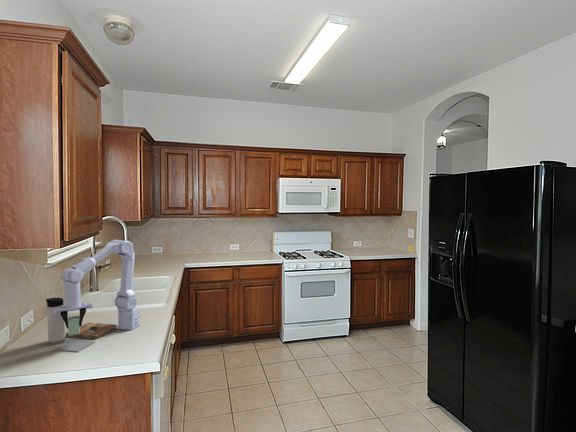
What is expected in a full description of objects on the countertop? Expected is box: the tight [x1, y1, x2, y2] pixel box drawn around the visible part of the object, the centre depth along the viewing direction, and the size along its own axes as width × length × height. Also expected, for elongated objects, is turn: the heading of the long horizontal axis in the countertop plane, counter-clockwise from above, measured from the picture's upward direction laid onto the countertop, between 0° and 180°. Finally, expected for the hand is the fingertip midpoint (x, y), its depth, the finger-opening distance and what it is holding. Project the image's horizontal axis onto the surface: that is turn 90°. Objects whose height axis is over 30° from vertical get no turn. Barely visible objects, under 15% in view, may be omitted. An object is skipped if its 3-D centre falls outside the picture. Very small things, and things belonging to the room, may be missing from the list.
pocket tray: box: [65, 322, 118, 340], centre depth 165 cm, size 16×14×2 cm
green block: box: [67, 314, 80, 336], centre depth 149 cm, size 4×4×7 cm
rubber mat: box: [52, 338, 96, 353], centre depth 150 cm, size 12×10×1 cm
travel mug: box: [45, 297, 66, 345], centre depth 154 cm, size 6×7×20 cm
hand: (74, 326), depth 149 cm, fingers closed on green block, 4 cm apart
